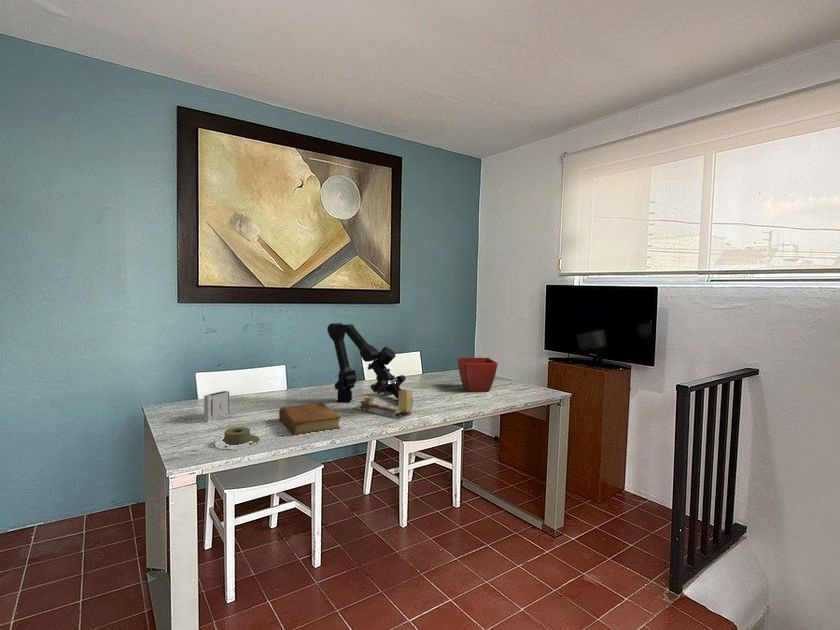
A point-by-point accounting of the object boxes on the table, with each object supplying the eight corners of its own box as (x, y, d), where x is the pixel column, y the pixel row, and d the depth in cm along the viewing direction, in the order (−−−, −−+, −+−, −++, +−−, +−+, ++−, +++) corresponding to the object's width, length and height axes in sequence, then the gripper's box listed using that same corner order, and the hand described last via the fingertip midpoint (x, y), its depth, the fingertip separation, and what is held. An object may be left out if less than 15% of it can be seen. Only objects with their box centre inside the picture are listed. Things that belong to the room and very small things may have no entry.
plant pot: (497, 393, 247) (498, 362, 246) (463, 393, 244) (464, 362, 243) (487, 385, 265) (488, 357, 264) (456, 385, 263) (456, 357, 262)
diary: (279, 421, 188) (279, 407, 187) (322, 415, 197) (322, 402, 197) (293, 437, 168) (293, 421, 168) (340, 430, 177) (340, 415, 177)
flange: (234, 422, 168) (204, 434, 154) (268, 427, 164) (240, 439, 150) (234, 434, 169) (204, 448, 154) (268, 439, 164) (240, 453, 150)
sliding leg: (391, 414, 196) (392, 393, 195) (404, 410, 204) (404, 389, 203) (399, 416, 193) (400, 394, 193) (411, 411, 201) (412, 390, 201)
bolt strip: (352, 408, 207) (352, 407, 207) (362, 405, 213) (362, 404, 213) (398, 419, 192) (398, 417, 192) (408, 415, 198) (408, 414, 198)
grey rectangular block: (207, 423, 181) (207, 398, 181) (197, 421, 183) (196, 397, 182) (230, 413, 195) (230, 391, 194) (220, 412, 196) (220, 390, 195)
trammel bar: (355, 407, 209) (355, 398, 209) (366, 404, 215) (366, 395, 215) (402, 418, 194) (402, 408, 194) (411, 414, 200) (412, 405, 200)
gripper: (384, 378, 219) (401, 404, 213) (358, 384, 203) (376, 412, 198) (397, 364, 214) (415, 390, 208) (372, 369, 198) (391, 398, 193)
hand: (399, 398), depth 202 cm, fingers closed
